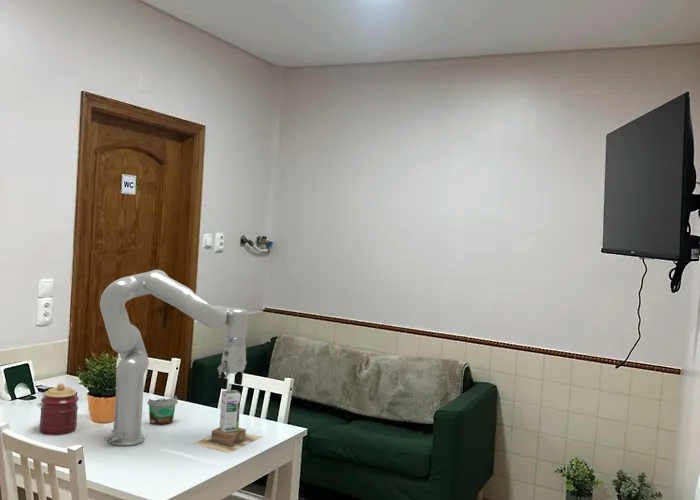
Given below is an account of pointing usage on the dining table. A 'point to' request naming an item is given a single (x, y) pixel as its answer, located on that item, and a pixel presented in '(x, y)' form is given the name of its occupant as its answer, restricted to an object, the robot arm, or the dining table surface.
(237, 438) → the base block
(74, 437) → the dining table surface
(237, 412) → the syrup box
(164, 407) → the food container
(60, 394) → the canister
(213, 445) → the build plate
